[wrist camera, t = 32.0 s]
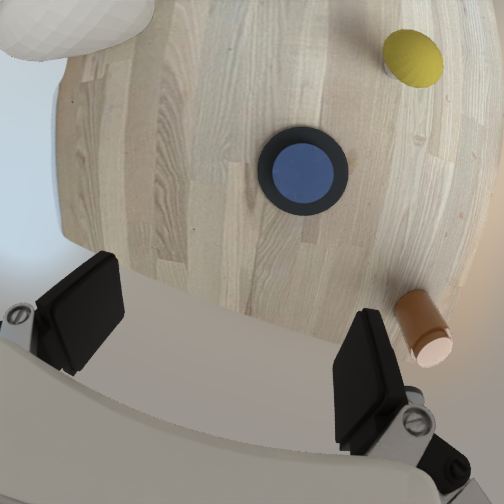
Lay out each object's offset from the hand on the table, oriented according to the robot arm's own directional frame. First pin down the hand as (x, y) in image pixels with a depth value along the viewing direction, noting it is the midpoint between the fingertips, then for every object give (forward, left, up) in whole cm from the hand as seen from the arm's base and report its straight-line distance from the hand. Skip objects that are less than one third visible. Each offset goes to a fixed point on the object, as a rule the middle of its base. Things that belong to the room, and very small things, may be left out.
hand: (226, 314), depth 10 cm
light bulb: (+18, -12, -26) cm, 34 cm away
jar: (-14, -25, -26) cm, 38 cm away
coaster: (+2, -3, -26) cm, 26 cm away
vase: (+23, +24, -26) cm, 42 cm away
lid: (+2, -3, -24) cm, 24 cm away
